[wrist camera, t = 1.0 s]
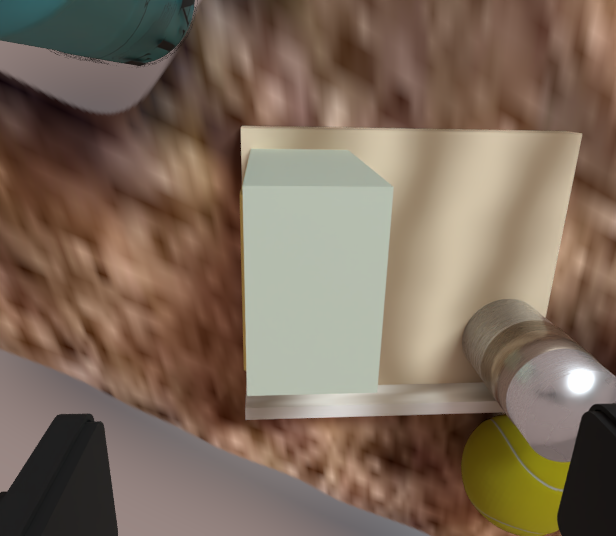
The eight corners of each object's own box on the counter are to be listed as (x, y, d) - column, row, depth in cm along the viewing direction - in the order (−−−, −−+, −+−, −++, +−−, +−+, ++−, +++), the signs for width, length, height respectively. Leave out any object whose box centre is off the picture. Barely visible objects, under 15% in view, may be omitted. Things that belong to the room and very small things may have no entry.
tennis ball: (518, 484, 37) (573, 571, 30) (431, 465, 36) (468, 551, 29) (562, 406, 35) (631, 481, 28) (471, 383, 34) (521, 455, 27)
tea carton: (347, 149, 26) (393, 186, 17) (341, 292, 29) (377, 392, 20) (247, 148, 26) (237, 185, 16) (250, 293, 29) (242, 395, 19)
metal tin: (550, 297, 30) (644, 368, 23) (535, 372, 32) (618, 461, 24) (466, 298, 30) (534, 371, 22) (456, 374, 31) (515, 464, 24)
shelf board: (566, 131, 28) (606, 137, 25) (519, 379, 34) (546, 411, 30) (241, 125, 27) (238, 131, 24) (247, 385, 32) (245, 419, 29)
